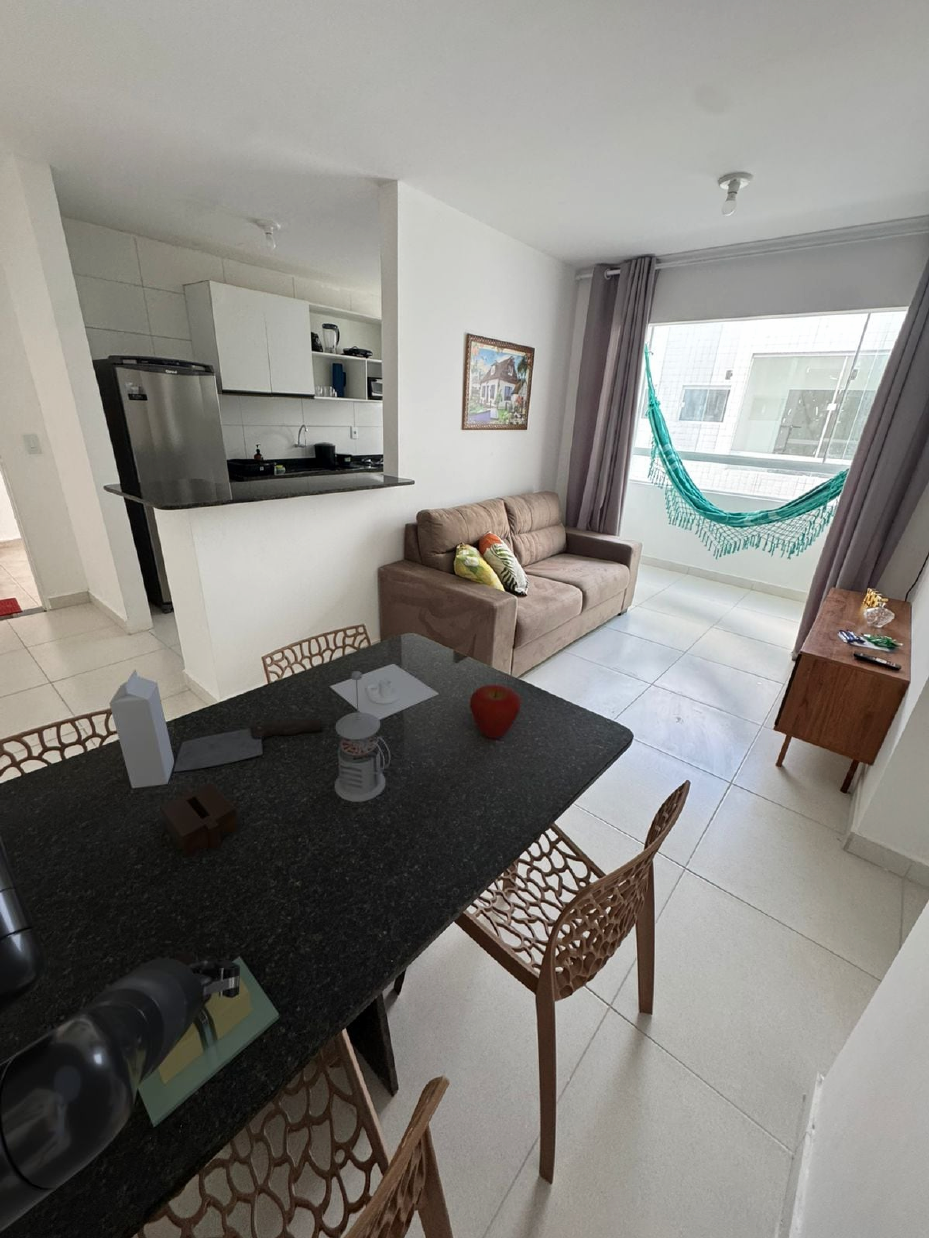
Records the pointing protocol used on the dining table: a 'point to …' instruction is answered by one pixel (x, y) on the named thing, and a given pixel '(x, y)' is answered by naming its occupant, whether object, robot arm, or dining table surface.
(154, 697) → the milk
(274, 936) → the dining table surface
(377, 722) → the french press
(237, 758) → the cleaver
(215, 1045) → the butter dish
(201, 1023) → the wood-handled utensil
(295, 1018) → the dining table surface
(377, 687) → the teacup and saucer
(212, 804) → the knife block
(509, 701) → the apple
